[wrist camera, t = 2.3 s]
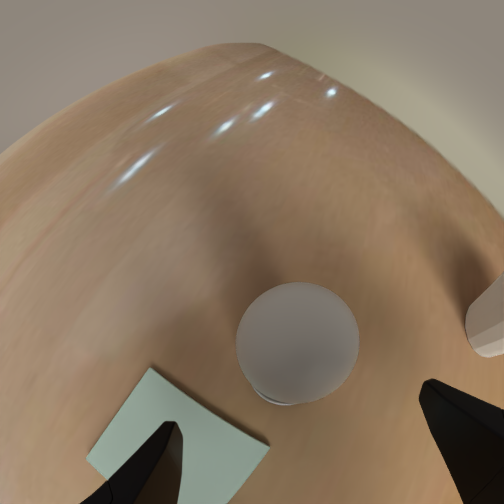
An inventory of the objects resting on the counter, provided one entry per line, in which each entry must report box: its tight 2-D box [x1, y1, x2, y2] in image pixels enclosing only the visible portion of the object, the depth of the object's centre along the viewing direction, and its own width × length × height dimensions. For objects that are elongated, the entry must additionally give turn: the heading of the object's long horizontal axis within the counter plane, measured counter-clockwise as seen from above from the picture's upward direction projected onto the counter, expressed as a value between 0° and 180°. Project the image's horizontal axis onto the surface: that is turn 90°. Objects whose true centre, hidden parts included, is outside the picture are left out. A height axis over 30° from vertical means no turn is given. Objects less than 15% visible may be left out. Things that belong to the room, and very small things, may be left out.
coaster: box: [86, 368, 270, 504], centre depth 15 cm, size 10×10×1 cm
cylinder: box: [236, 282, 360, 405], centre depth 13 cm, size 5×5×12 cm
